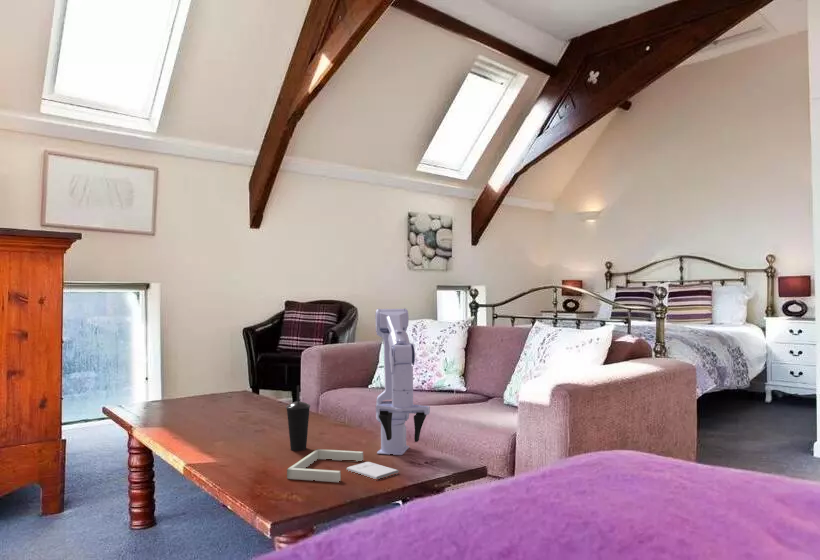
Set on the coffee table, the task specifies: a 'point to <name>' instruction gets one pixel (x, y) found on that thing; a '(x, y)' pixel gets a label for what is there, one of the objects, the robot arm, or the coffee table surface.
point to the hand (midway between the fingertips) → (402, 440)
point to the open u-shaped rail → (321, 475)
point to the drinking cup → (298, 423)
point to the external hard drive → (372, 470)
